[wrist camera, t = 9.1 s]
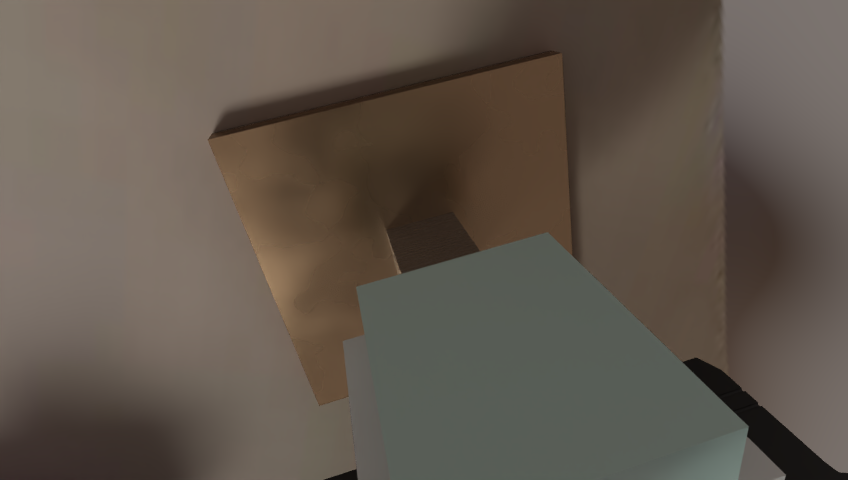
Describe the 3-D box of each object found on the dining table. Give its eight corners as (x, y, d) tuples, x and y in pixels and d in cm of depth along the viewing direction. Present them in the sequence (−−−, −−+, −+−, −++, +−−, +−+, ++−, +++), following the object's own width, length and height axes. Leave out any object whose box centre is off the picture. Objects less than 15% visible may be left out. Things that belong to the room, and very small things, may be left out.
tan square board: (318, 392, 22) (324, 548, 15) (212, 133, 16) (153, 217, 10) (567, 316, 23) (664, 432, 17) (551, 50, 17) (688, 78, 11)
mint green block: (399, 425, 15) (461, 701, 9) (355, 287, 12) (402, 546, 6) (558, 374, 15) (712, 604, 9) (547, 232, 13) (749, 426, 7)
